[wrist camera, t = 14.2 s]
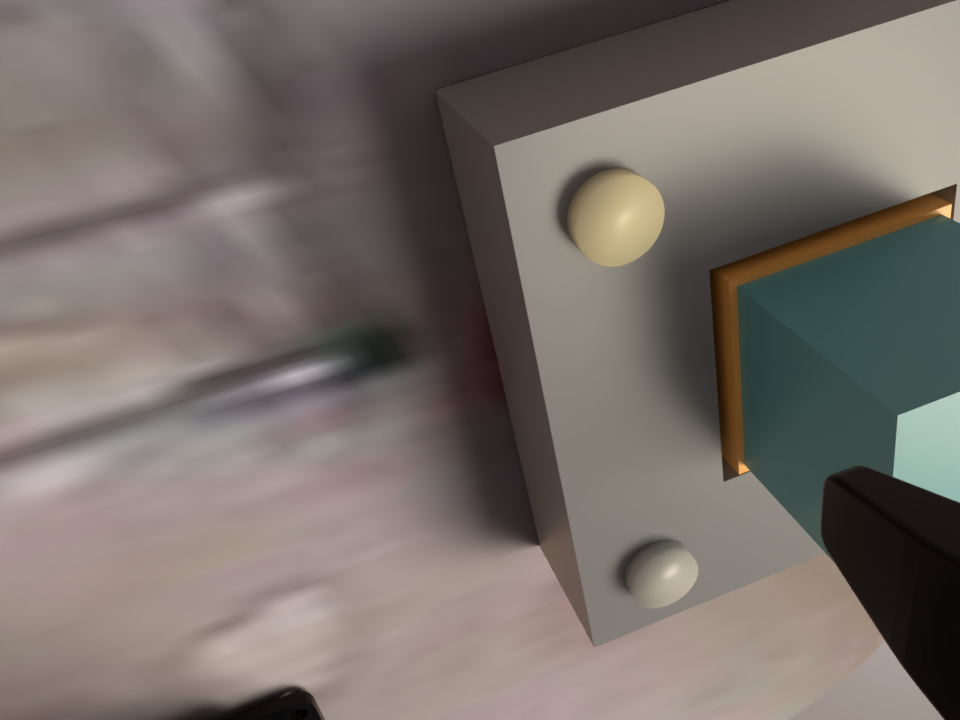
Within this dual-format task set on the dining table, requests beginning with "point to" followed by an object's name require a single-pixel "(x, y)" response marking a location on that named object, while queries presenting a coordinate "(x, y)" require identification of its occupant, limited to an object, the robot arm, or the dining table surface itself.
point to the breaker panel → (676, 260)
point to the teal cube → (855, 368)
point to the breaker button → (775, 261)
